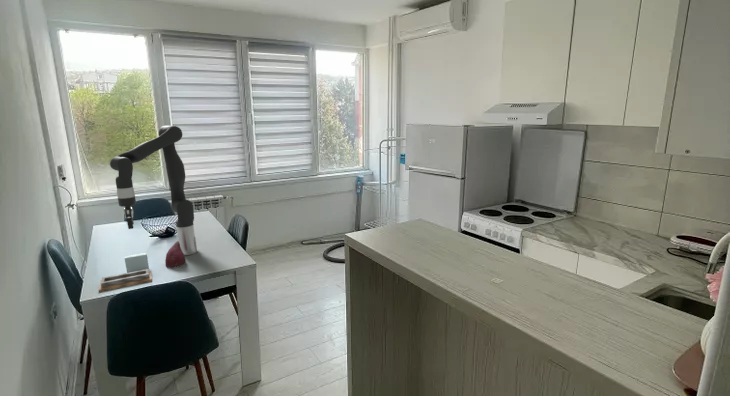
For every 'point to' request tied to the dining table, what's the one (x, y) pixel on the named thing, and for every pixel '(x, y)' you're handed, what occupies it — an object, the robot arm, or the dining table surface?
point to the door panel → (136, 262)
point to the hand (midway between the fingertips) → (131, 226)
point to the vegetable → (175, 256)
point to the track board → (125, 280)
